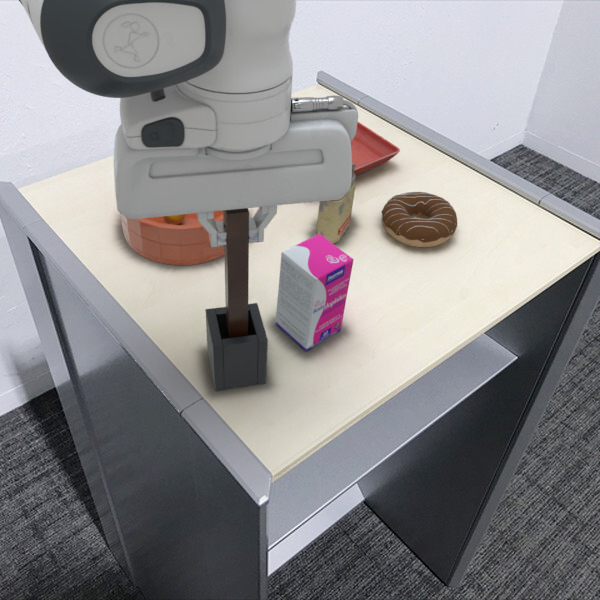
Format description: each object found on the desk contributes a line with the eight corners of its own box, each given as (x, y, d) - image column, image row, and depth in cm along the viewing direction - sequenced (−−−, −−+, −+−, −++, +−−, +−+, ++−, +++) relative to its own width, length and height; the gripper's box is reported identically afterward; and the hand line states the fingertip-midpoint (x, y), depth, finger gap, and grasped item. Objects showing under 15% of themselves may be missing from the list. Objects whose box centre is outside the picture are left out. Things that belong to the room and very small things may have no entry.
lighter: (334, 247, 91) (342, 185, 84) (309, 239, 92) (315, 177, 85) (353, 220, 96) (362, 159, 89) (329, 212, 97) (336, 151, 90)
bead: (191, 207, 91) (180, 222, 93) (173, 194, 90) (162, 209, 92) (185, 218, 89) (174, 233, 90) (166, 205, 88) (155, 220, 89)
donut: (436, 263, 90) (443, 240, 87) (366, 234, 93) (370, 211, 90) (465, 224, 96) (472, 201, 94) (399, 198, 100) (403, 176, 97)
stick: (229, 339, 69) (226, 213, 58) (226, 325, 71) (222, 200, 60) (248, 336, 70) (249, 211, 59) (244, 323, 71) (245, 198, 60)
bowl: (127, 272, 85) (121, 234, 80) (120, 196, 96) (114, 160, 92) (255, 258, 88) (256, 221, 84) (234, 186, 100) (234, 151, 95)
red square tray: (310, 205, 97) (312, 186, 95) (240, 149, 107) (240, 131, 105) (399, 168, 106) (402, 149, 104) (326, 119, 116) (328, 102, 113)
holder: (215, 391, 72) (213, 347, 67) (207, 353, 76) (205, 309, 71) (266, 383, 73) (267, 340, 68) (256, 346, 77) (257, 302, 72)
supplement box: (307, 354, 76) (315, 279, 69) (274, 324, 79) (277, 250, 72) (343, 331, 79) (355, 257, 71) (310, 303, 82) (317, 230, 75)
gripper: (349, 77, 57) (334, 209, 66) (100, 91, 52) (122, 230, 62) (373, 113, 52) (352, 250, 62) (103, 131, 48) (126, 275, 57)
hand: (235, 240), depth 62 cm, fingers closed on stick, 2 cm apart
